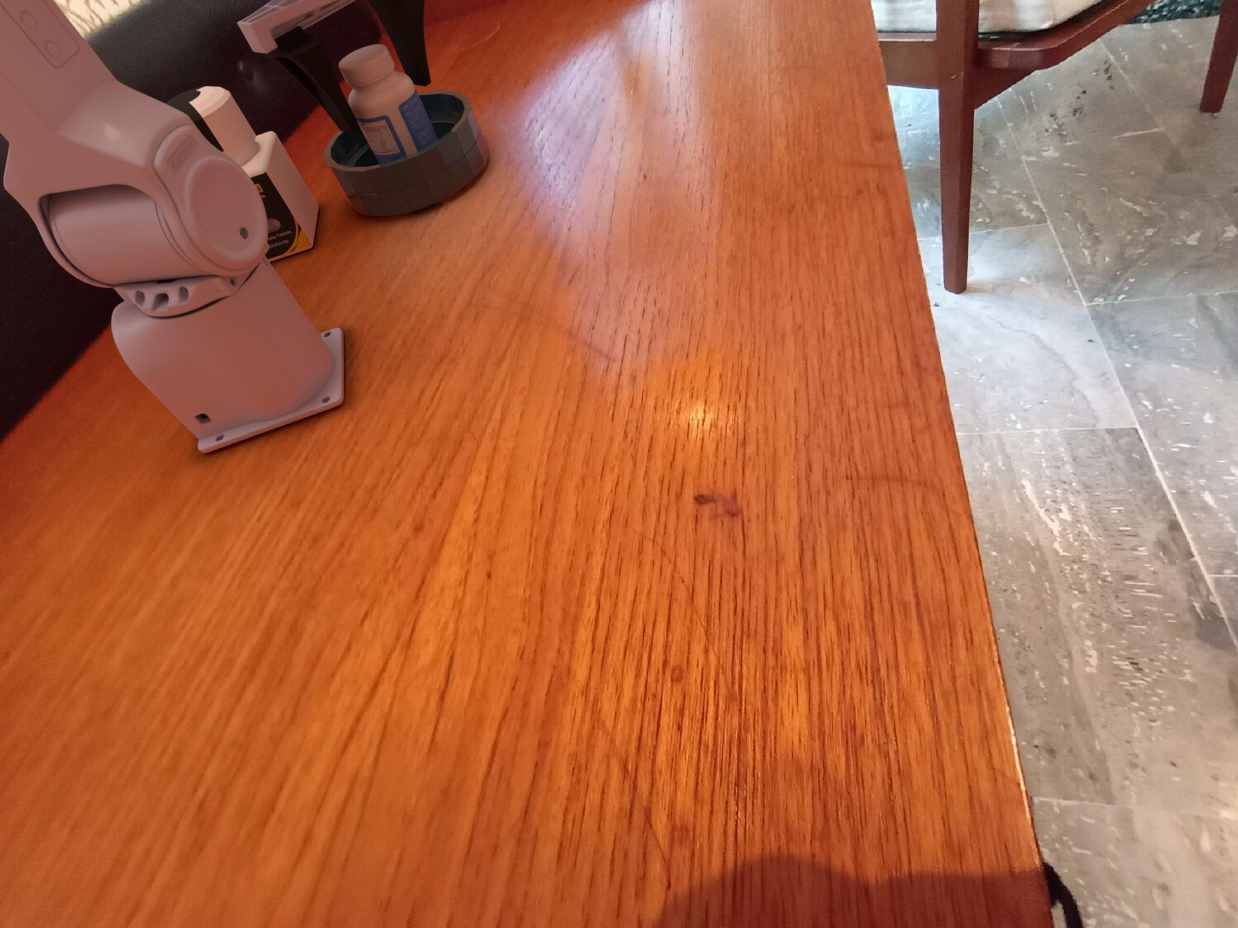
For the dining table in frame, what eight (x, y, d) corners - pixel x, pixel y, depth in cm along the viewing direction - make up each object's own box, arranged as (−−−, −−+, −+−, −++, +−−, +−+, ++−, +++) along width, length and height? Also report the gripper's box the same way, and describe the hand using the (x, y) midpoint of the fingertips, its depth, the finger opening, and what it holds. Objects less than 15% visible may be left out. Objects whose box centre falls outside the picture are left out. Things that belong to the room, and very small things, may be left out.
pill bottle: (437, 149, 65) (386, 33, 58) (456, 170, 62) (405, 49, 55) (381, 175, 65) (323, 61, 57) (398, 198, 61) (338, 78, 54)
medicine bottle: (232, 275, 60) (126, 134, 51) (245, 232, 65) (150, 96, 56) (314, 249, 60) (222, 102, 51) (320, 207, 65) (237, 66, 56)
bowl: (351, 239, 59) (322, 189, 56) (350, 171, 68) (325, 124, 65) (500, 186, 59) (479, 133, 56) (480, 125, 68) (461, 75, 65)
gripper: (229, -52, 44) (343, 160, 54) (408, -139, 49) (481, 68, 59) (180, -52, 48) (295, 146, 58) (352, -133, 53) (429, 61, 63)
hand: (386, 106), depth 59 cm, fingers open, 7 cm apart
